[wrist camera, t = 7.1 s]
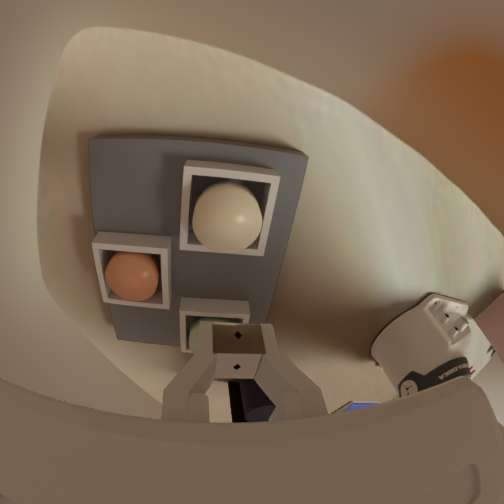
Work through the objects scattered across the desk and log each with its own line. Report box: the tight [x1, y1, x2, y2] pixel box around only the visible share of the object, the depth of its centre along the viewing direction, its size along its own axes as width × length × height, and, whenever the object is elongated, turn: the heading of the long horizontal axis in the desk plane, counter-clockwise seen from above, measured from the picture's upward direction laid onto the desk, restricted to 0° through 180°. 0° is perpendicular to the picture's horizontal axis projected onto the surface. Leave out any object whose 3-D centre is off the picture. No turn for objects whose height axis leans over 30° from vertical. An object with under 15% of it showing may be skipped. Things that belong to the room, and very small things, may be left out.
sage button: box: [189, 317, 231, 354], centre depth 28 cm, size 5×5×2 cm
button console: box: [89, 135, 309, 353], centre depth 25 cm, size 18×24×4 cm
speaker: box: [228, 379, 276, 423], centre depth 36 cm, size 8×6×10 cm
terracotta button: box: [105, 251, 160, 301], centre depth 23 cm, size 5×5×2 cm
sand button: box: [192, 181, 262, 253], centre depth 20 cm, size 5×5×2 cm
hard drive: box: [334, 401, 381, 413], centre depth 57 cm, size 2×8×12 cm
